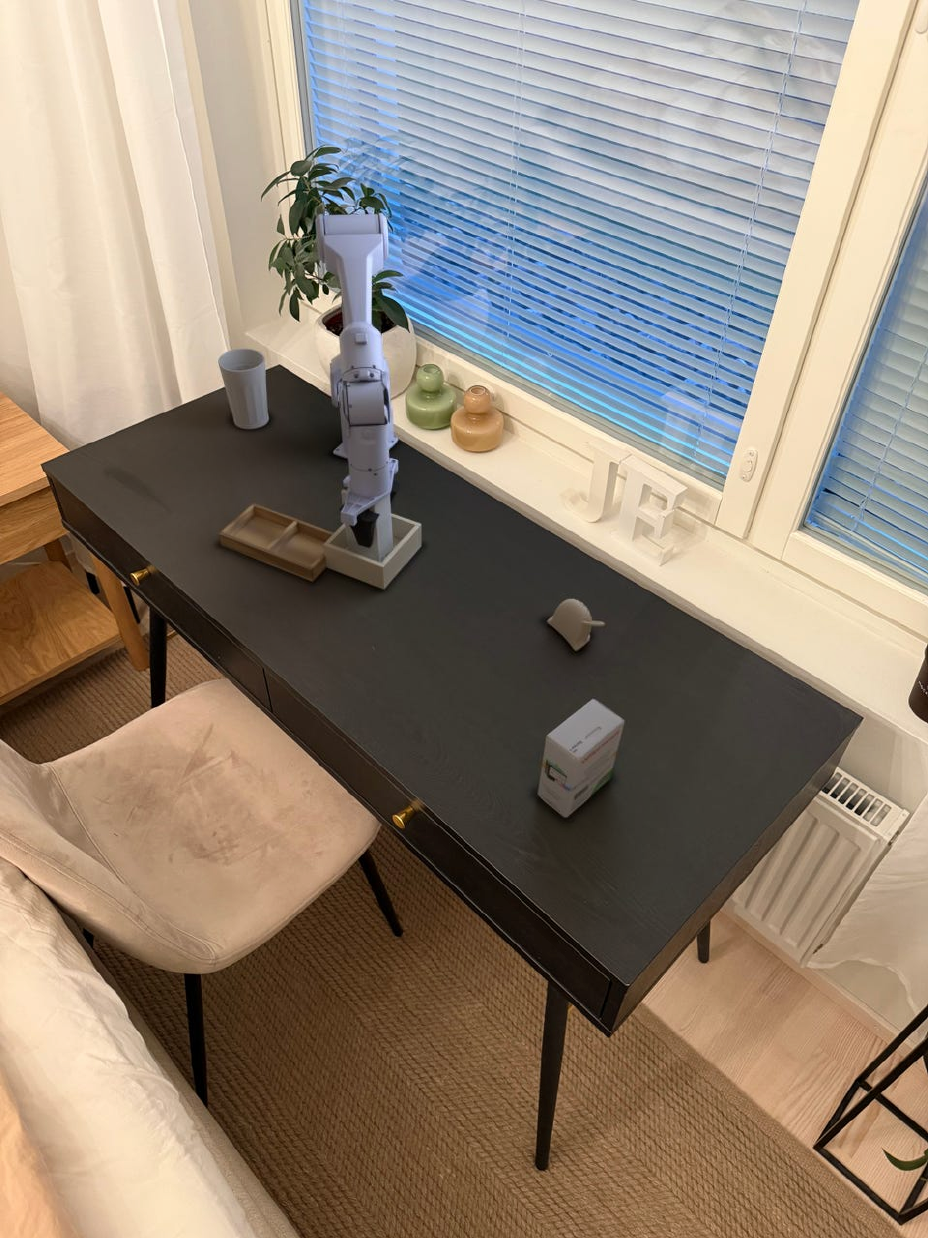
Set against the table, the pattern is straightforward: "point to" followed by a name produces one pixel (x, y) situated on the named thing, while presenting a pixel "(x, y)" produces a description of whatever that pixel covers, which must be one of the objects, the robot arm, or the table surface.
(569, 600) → the decorative ornament
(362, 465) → the robot arm
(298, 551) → the tray
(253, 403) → the cup
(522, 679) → the table surface
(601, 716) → the ink box
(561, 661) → the table surface
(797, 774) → the table surface
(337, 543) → the basin
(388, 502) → the cosmetic box
